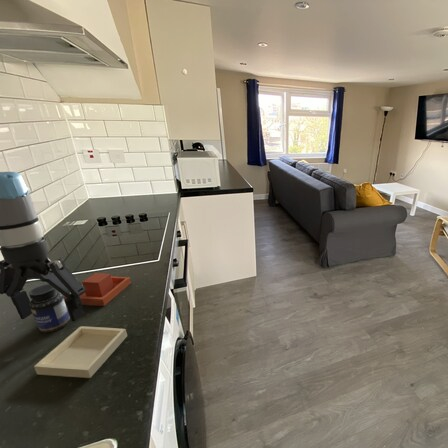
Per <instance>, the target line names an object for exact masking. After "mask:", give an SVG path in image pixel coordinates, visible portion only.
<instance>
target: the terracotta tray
mask: <svg viewBox="0 0 448 448" xmlns="http://www.w3.org/2000/svg"><path fill="white" fill-rule="evenodd" d="M111 278H112V281H113V285H114V288H113V289H111V290H110V291H109V292H108V293H106V294H105V295H104V296H103V297H96V296H86V293H85V292H84V293H83V294H82V295H80V299H81V301H82V306H99V307H105V306H106V305H108V304H109V303H110V302H111V301H112V300H113V299H114V298H116V297H117V296H118V295H119V294H120V293H122V292H123V291H124V290H125V289H126V288H127V287H128V286H129V285H130V284H132V282H131V278H130V277H129V276H112V275H111ZM70 294H71V293H70ZM63 299H64V300H65V299H67V298H66V297H65V296H63Z"/></svg>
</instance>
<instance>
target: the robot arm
mask: <svg viewBox="0 0 448 448" xmlns="http://www.w3.org/2000/svg"><path fill="white" fill-rule="evenodd" d="M44 236H45V234H44V231H43V228H42V225H41V223H40V220H39V217H38V214H37V211H36V208H35V205H34V202H33V200H32V197H31V192H30V189H29V187H27V184H26V182H25V180H24V178H23V176H22V175H21V174H20V173H18V172H15V171H0V253H1V256H2V258H3V259H2V260H0V295H4V294H5V295H6V297H9V298H10V301H11V302H12V304H13V306H14V307H15V309H16V311H17V314H18V315H19V318H20V320H25V319H27V318H28V317H29V316H31V315H33V314H32V311H31V309H30V306H29V304H30V302H31V300H30V297H29V296H28V295H29V294H28V293H27V291H26V290H24V287H25V284H26V283H27V282H28V280H31V279H34V280H39V281H41V282H42V283H44V282H46V283H47V284H50V285H51V286H52V287H54V288H55V289H56V292H59V293H61V294H62V296H63V297H66V298H67V299H64V302H65V305H66V307H67V310H68V313H69V316H70V320H71V321H72V322H75V323H76V322H77V321H79V319H80V318H82V317H83V316H84V315H85V312H84V309H83V307H82V306H83V305H82V301H81V299H80V295H82V294H83V293H84V292H86V289H85V287H84V286H83V284H82V282H80V281H79V279H78V278H77V277H76V276H75V275H74V274H73V273H72V271H71V270H70V269H69V268H68V266H67V265H66V262H65V260H64V259H63V258H59V259H56V260H51V259H50V258H49V254H50V251H51V249H50V246H49V244H48V241H47V238H46V237H44ZM70 293H71V294H70Z"/></svg>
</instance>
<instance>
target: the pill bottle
mask: <svg viewBox="0 0 448 448" xmlns="http://www.w3.org/2000/svg"><path fill="white" fill-rule="evenodd" d="M28 295H29V299H31V300H30V304H29V306H30V309H31V311H32V314H31V315H32V316H33V319H34V321H35V323H36V326H37V328H38V331H39V332H40V333H43V334H49V333H53V332H56V331H60V330H61V329H63V328H65V327H66V326H67V325H68V324H69V323H70V321H71V316H70V313H69V311H68V308H67V305H66V303H65V299H64V295H63V294H61V293H60V292H59V291H57V290H56V289H55V288H54V287H52V286H51V285H50V284H48V283H47V284H42V285H39V286H36V287H35V288H32V289H31V290H30V291H29V293H28Z"/></svg>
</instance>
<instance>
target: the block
mask: <svg viewBox="0 0 448 448" xmlns="http://www.w3.org/2000/svg"><path fill="white" fill-rule="evenodd" d="M111 276H112V275H111V273H103V272H94V273H92V275H90V276H88V277H87V278H85V279H84V280H82V281H81V284H82V285H83V286H84V287H85V289H86V292H85V293H86V296H96V297H103V296H104V295H105V294H106V293H108V292H109V291H110V290H111V289H113V288H114V285H113V281H112V278H111Z"/></svg>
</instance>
